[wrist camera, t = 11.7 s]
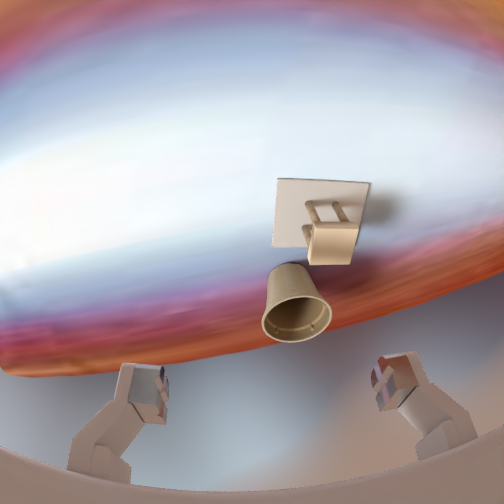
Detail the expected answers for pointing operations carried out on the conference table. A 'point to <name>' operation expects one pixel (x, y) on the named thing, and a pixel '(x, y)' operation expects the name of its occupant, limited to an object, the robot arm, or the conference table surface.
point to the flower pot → (294, 305)
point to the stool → (329, 237)
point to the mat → (322, 196)
